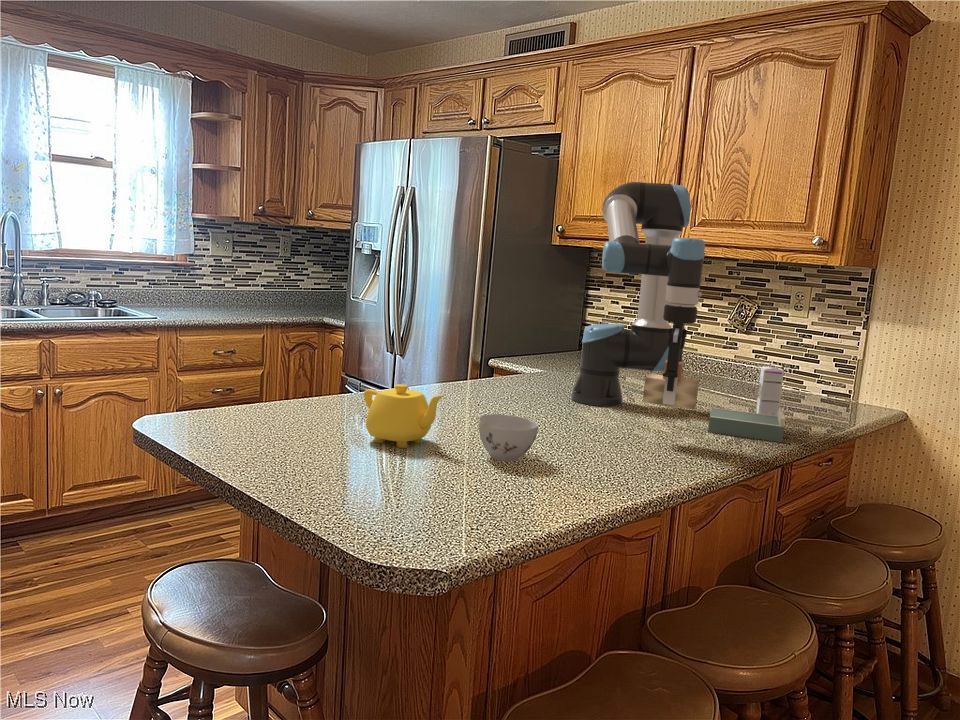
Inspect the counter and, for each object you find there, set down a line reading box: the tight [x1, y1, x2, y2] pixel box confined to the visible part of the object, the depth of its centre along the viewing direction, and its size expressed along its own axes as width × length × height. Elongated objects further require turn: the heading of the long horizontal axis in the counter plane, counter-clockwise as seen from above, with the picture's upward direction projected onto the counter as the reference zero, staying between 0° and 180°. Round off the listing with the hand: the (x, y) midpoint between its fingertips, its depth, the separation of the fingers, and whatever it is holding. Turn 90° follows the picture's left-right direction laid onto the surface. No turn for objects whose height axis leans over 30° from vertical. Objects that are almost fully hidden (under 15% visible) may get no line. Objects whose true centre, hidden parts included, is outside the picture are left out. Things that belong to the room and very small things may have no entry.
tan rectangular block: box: [642, 373, 700, 410], centre depth 179 cm, size 12×6×6 cm, turn 71°
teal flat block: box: [707, 407, 786, 443], centre depth 199 cm, size 18×14×6 cm
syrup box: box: [755, 365, 785, 416], centre depth 222 cm, size 6×6×14 cm
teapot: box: [363, 383, 445, 449], centre depth 163 cm, size 13×20×12 cm
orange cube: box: [663, 360, 684, 381], centre depth 179 cm, size 4×4×4 cm
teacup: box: [478, 413, 539, 463], centre depth 157 cm, size 15×12×8 cm
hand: (669, 401), depth 180 cm, fingers closed on tan rectangular block, 6 cm apart
